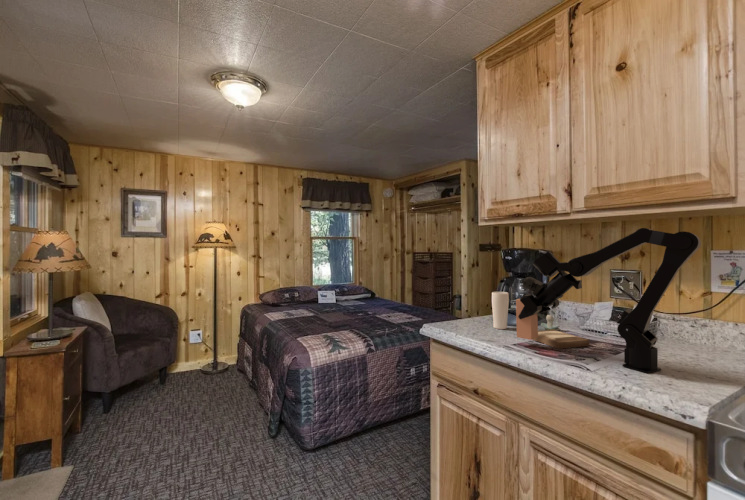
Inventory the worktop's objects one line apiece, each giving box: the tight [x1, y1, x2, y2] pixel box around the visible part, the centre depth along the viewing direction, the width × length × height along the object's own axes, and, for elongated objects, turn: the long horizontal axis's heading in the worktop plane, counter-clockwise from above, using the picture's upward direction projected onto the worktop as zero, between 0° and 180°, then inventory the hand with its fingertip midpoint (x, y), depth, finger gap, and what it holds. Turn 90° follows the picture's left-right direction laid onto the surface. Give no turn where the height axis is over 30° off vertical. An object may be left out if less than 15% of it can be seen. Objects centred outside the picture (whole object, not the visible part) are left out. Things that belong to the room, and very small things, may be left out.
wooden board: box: [532, 329, 590, 349], centre depth 125 cm, size 16×13×2 cm
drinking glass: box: [491, 291, 510, 330], centre depth 146 cm, size 7×7×15 cm
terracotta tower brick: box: [515, 298, 539, 341], centre depth 119 cm, size 5×5×13 cm
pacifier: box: [540, 314, 561, 331], centre depth 144 cm, size 7×6×6 cm
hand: (522, 317), depth 120 cm, fingers closed on terracotta tower brick, 5 cm apart
